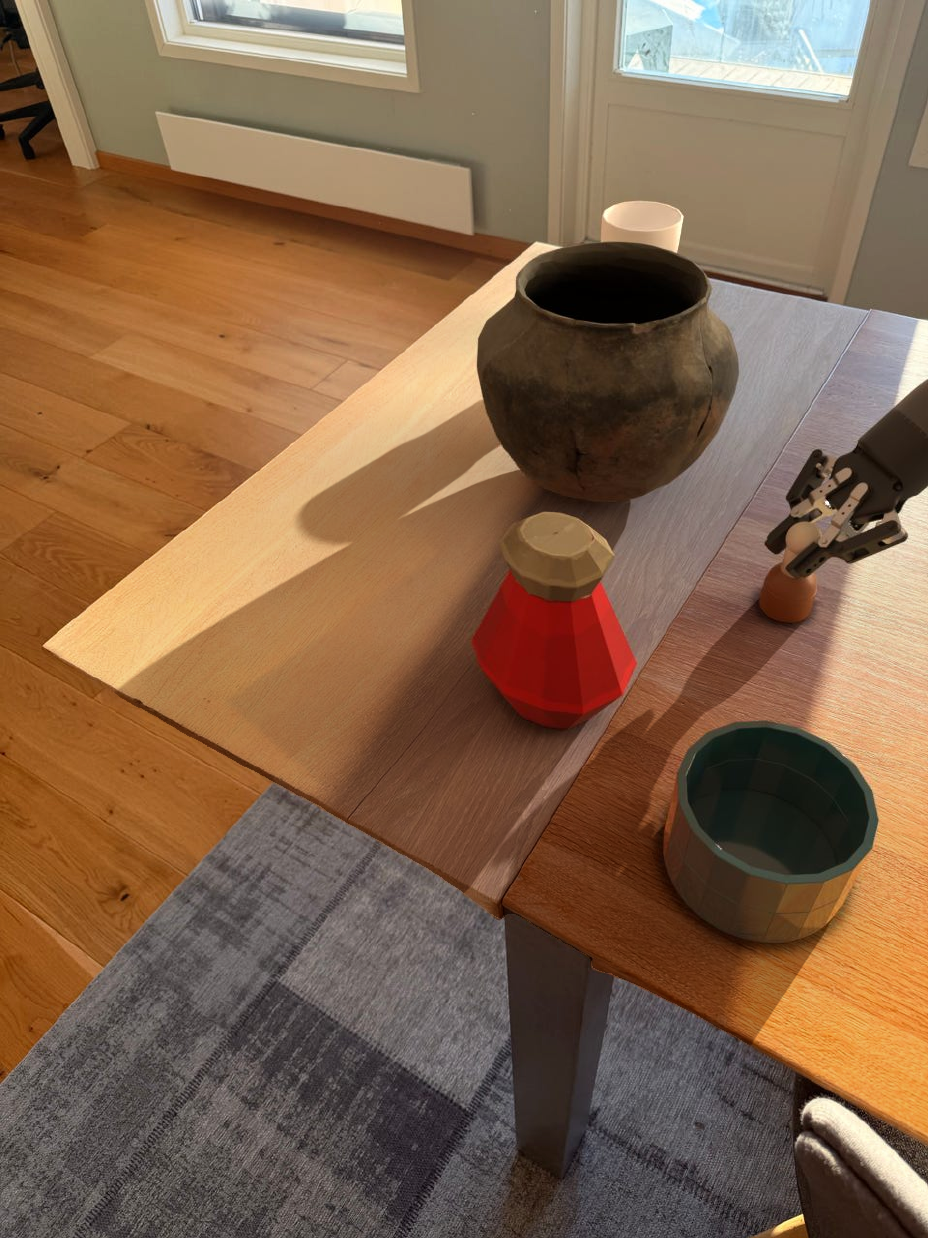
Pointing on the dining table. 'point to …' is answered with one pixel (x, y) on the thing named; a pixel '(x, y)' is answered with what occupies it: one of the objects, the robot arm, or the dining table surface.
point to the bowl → (767, 830)
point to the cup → (643, 224)
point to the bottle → (554, 624)
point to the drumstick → (790, 579)
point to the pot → (607, 369)
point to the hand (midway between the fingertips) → (781, 561)
